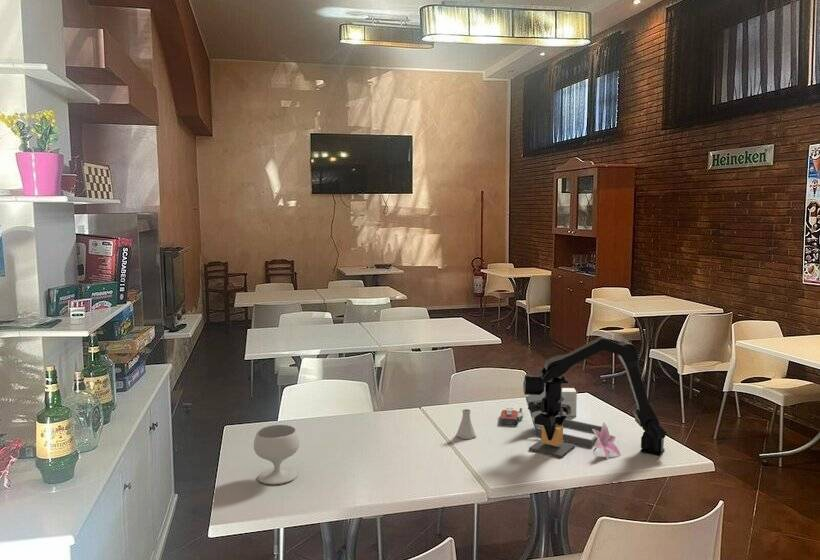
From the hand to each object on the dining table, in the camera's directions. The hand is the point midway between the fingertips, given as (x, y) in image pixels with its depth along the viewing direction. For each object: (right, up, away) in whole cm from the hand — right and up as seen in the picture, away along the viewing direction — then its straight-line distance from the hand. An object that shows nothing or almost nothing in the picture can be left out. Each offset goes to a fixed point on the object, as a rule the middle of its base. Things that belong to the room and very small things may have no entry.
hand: (552, 438), depth 212 cm
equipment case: (+9, -2, +16) cm, 18 cm away
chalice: (-92, -7, -22) cm, 95 cm away
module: (0, -2, 0) cm, 2 cm away
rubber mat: (0, -4, 0) cm, 4 cm away
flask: (-29, -3, +13) cm, 32 cm away
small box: (+14, 0, +38) cm, 41 cm away
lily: (+17, -5, -5) cm, 18 cm away
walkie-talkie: (-9, -1, +33) cm, 34 cm away
